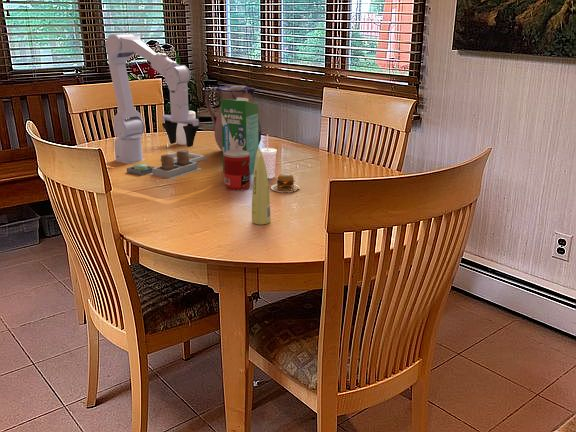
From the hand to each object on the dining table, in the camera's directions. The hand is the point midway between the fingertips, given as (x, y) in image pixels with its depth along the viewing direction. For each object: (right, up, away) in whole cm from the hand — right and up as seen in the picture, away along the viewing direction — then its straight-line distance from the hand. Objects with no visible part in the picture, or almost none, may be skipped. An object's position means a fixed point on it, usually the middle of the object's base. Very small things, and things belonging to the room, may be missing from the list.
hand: (181, 144), depth 193 cm
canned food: (+20, -15, -13) cm, 28 cm away
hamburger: (+35, -16, -14) cm, 41 cm away
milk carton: (+20, -9, +4) cm, 22 cm away
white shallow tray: (-2, -4, +16) cm, 16 cm away
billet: (0, -8, +3) cm, 8 cm away
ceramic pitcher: (+15, 0, +28) cm, 32 cm away
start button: (-13, -10, -1) cm, 17 cm away
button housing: (-13, -10, -1) cm, 17 cm away
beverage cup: (+29, -11, -1) cm, 31 cm away
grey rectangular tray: (-2, -10, 0) cm, 10 cm away
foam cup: (-6, +5, +42) cm, 43 cm away
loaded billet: (-4, -10, -3) cm, 11 cm away
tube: (+29, -25, -42) cm, 57 cm away
